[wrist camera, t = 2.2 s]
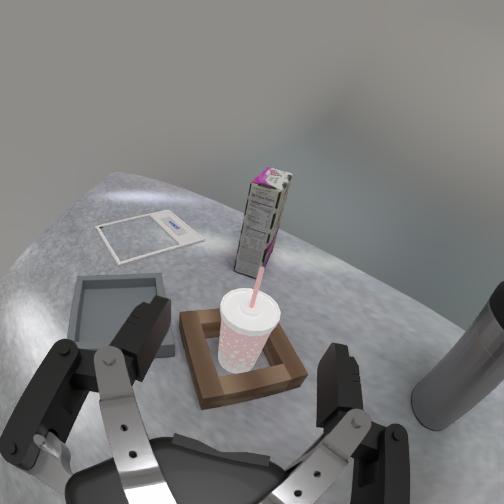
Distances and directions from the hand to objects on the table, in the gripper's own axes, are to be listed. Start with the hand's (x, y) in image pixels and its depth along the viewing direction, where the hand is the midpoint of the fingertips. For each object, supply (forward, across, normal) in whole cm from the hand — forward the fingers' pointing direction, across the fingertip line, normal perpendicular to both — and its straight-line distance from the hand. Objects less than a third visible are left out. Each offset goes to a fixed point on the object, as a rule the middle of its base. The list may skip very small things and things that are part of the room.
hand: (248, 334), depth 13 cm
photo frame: (+33, +22, +18) cm, 44 cm away
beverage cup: (+12, 0, +18) cm, 21 cm away
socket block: (+12, 0, +18) cm, 21 cm away
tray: (+12, +16, +18) cm, 26 cm away
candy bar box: (+34, +1, +18) cm, 38 cm away
